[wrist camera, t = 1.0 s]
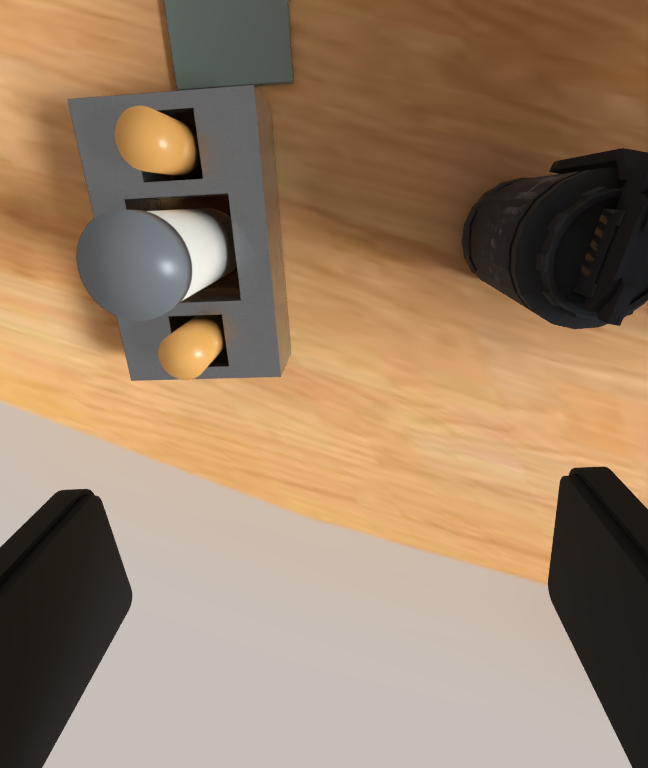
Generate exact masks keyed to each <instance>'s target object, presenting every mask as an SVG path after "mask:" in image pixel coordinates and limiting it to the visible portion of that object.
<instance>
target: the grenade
mask: <svg viewBox="0 0 648 768" xmlns="http://www.w3.org/2000/svg"><path fill="white" fill-rule="evenodd" d="M549 172H554V173H559V174H557V175H550V176H543V177H536V178H518V179H515V180H511V181H508V182H504V183H500V184H499V185H497V186H496V187H494V188H493V189H491V190H489V191H488V192H486V193H485V194H484V195H483V196H482V197H481V198H480V199H479V201H478V202H477V203H476V204H475V205H474V206H473V207H472V209H471V211H470V214H469V216H468V218H467V220H466V222H465V224H464V230H463V237H462V246H463V252H464V258H465V260H466V262H467V263H468V265H469V267H470V269H471V271H472V272H473V273H474V274H475V275H476V276H478V277H479V278H480V279H481V280H482V281H483V282H486V283H487V284H489V285H491V286H492V287H494V288H495V289H497V290H499V291H500V292H502V293H503V294H505V295H507V296H508V297H510V298H512V299H513V300H515V301H516V302H518V303H520V304H521V305H523V306H524V307H526V308H528V309H529V310H531V311H532V312H534V313H536V314H537V315H539V316H540V317H542V318H544V319H545V320H547V321H548V322H550V323H552V324H554V325H559V326H563V327H568V328H572V329H582V328H594V327H601V326H603V325H606V324H613V325H618V326H620V324H621V322H622V320H623V318H624V317H626V316H627V315H630V314H633V311H634V310H636V309H637V308H639V307H640V306H641V305H643V304H644V303H646V301H647V300H648V153H647V152H641V151H635V150H630V149H624V148H622V149H617V150H611V151H606V152H601V153H596V154H591V155H586V156H580V157H575V158H570V159H565V160H560V161H555V162H554V163H553V165H552V167H551V169H550V171H549Z"/></svg>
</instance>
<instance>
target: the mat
mask: <svg viewBox="0 0 648 768" xmlns="http://www.w3.org/2000/svg"><path fill="white" fill-rule="evenodd" d="M164 4H165V11H166V18H167V25H168V31H169V38H170V45H171V52H172V59H173V65H174V72H175V79H176V86H177V90H178V91H182V90H195V89H208V88H221V87H234V86H247V85H254V86H263V85H276V84H290V83H293V67H292V52H291V37H290V22H289V6H288V0H164Z"/></svg>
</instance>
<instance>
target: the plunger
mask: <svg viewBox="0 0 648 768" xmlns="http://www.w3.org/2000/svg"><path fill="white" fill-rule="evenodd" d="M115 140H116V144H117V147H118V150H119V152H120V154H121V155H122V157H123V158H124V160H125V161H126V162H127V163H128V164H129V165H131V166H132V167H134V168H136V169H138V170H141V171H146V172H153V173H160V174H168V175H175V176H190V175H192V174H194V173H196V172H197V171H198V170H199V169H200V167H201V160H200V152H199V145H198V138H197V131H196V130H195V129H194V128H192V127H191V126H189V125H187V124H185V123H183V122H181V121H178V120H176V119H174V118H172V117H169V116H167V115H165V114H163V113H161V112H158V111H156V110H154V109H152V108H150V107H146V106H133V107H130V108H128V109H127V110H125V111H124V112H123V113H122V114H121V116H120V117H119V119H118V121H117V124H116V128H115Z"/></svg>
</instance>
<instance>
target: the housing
mask: <svg viewBox="0 0 648 768" xmlns="http://www.w3.org/2000/svg"><path fill="white" fill-rule="evenodd" d="M67 100H68V104H69V108H70V113H71V117H72V122H73V126H74V131H75V135H76V139H77V144H78V148H79V153H80V157H81V161H82V166H83V170H84V175H85V179H86V183H87V188H88V192H89V197H90V201H91V205H92V210H93V214H94V218H96V217H97V216H99V215H101V214H103V213H106V212H110V211H115V210H143V211H160V210H161V205H160V199H175V198H193V197H210V196H227V195H228V196H229V204H230V213H231V221H232V229H233V237H234V246H235V254H236V262H237V270H238V279H239V287H224V288H203V289H201V290H200V291H198V292H196V293H194V294H193V295H191V296H189V297H188V298H186V299H184V300H182V301H181V302H180V303H179V304H178V305H177V306H176V307H175V308H173V309H171V310H169V311H168V312H166V313H164V314H163V315H161V316H159V317H157V318H154V319H151V320H147V321H132V320H126V319H123V318H120V317H118V316H117V320H118V324H119V329H120V333H121V338H122V342H123V346H124V351H125V355H126V360H127V364H128V368H129V373H130V377H131V381H135V380H174V379H177V378H175V377H173V376H171V375H170V374H168V373H167V372H166V371H165V370H164V368H163V367H162V365H161V363H160V361H159V356H158V350H159V346H160V344H161V342H162V341H163V340H164V339H165V338H166V337H167V336H169V335H170V334H171V333H173V332H174V331H176V330H177V329H178V328H180V327H181V326H182V325H184V324H185V323H187V322H188V321H189V320H191V319H192V318H193V317H195V316H196V315H218V314H222V319H223V326H224V333H225V340H226V346H225V348H224V349H223V350H222V351H221V352H220V353H219V354H218V355H217V357H216V358H215V359H214V360H213V361H212V362H211V363H210V364H209V366H208V367H207V368H206V369H205V370H204V371H203V372H202V373H201V374H200V375H199V376H198V377H196V378H194V379H213V378H251V377H281V376H282V373H283V371H284V368H285V366H286V364H287V361H288V359H289V356H290V354H291V345H290V333H289V321H288V309H287V297H286V285H285V273H284V260H283V248H282V236H281V224H280V212H279V200H278V188H277V176H276V164H275V152H274V140H273V128H272V116H271V104H270V103H269V102H268V101H267V100H266V98H265V97H264V96H263V95H262V94H261V93H260V92H259V90H258V89H257V88H256V87H255V86H254V85H247V86H234V87H221V88H208V89H195V90H182V91H169V92H156V93H143V94H130V95H117V96H104V97H91V98H78V99H67ZM133 106H146V107H150V108H152V109H154V110H156V111H158V112H161V113H163V114H165V115H167V116H169V117H172V118H174V119H176V120H178V121H181V122H183V123H185V124H187V125H196V131H197V138H198V145H199V152H200V160H201V167H202V174H203V179H192V180H175V175H168V174H160V173H153V172H146V171H141V170H138V169H136V168H134V167H132V166H131V165H129V164H128V163H127V162H126V161H125V160H124V158H123V157H122V155H121V154H120V152H119V150H118V147H117V144H116V140H115V128H116V124H117V121H118V119H119V117H120V116H121V114H122V113H123V112H124V111H125V110H127V109H128V108H130V107H133Z"/></svg>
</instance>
